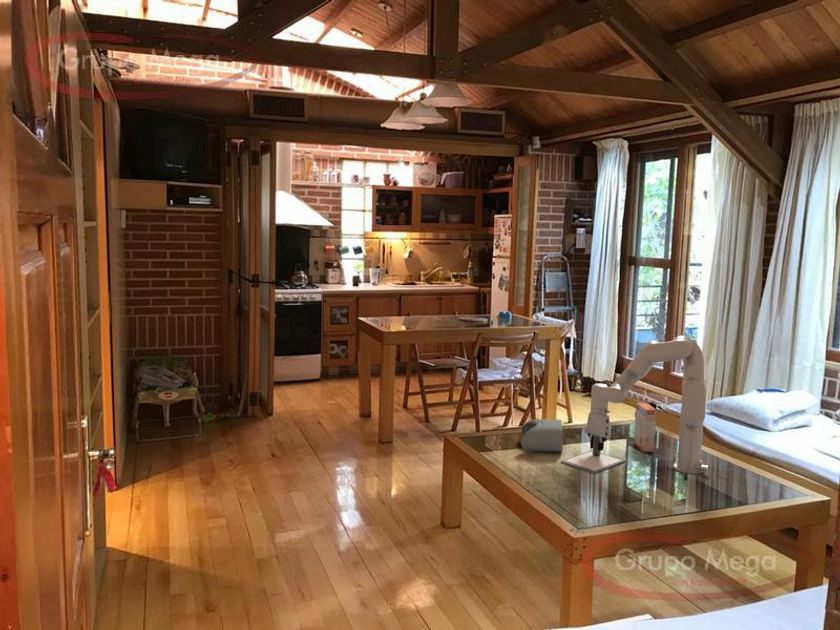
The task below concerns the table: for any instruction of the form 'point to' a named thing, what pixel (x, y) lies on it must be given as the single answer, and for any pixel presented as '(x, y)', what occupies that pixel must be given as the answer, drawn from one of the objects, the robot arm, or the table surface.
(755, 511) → the table surface
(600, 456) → the notepad
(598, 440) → the marker
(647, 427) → the cracker box
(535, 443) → the grey rounded block
